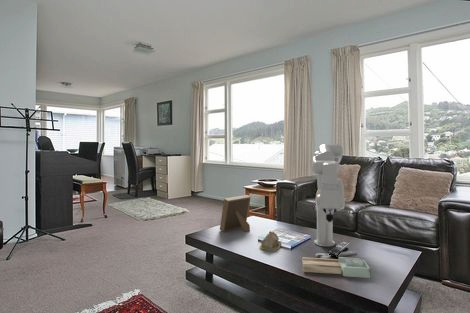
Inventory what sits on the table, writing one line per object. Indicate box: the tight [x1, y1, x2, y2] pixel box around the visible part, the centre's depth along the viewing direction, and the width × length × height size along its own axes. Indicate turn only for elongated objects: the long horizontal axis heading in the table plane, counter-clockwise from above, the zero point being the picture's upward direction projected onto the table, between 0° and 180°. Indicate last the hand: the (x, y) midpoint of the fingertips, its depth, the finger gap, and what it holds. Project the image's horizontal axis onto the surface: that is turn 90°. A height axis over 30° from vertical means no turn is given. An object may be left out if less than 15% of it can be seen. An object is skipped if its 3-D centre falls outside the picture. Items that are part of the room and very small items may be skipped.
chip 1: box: [344, 259, 355, 267], centre depth 137 cm, size 4×4×3 cm
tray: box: [337, 256, 371, 279], centre depth 138 cm, size 12×12×4 cm
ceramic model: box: [259, 231, 282, 252], centre depth 170 cm, size 14×11×10 cm
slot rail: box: [301, 256, 342, 275], centre depth 140 cm, size 8×18×4 cm, turn 80°
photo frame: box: [219, 194, 252, 233], centre depth 204 cm, size 15×22×25 cm
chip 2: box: [353, 259, 363, 267], centre depth 137 cm, size 4×4×3 cm
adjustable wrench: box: [314, 250, 357, 259], centre depth 157 cm, size 25×6×2 cm, turn 100°
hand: (329, 221), depth 144 cm, fingers closed
